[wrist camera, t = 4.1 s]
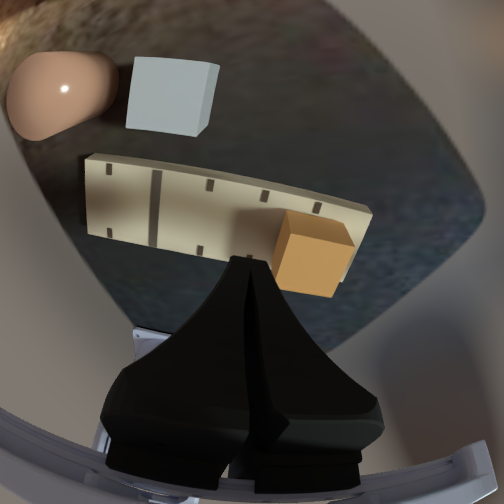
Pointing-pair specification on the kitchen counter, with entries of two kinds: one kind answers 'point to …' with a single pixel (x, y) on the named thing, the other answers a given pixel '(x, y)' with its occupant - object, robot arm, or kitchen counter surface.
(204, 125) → the grey block
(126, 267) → the kitchen counter surface
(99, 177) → the counting board
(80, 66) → the tan rounded cylinder
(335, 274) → the tan square block
